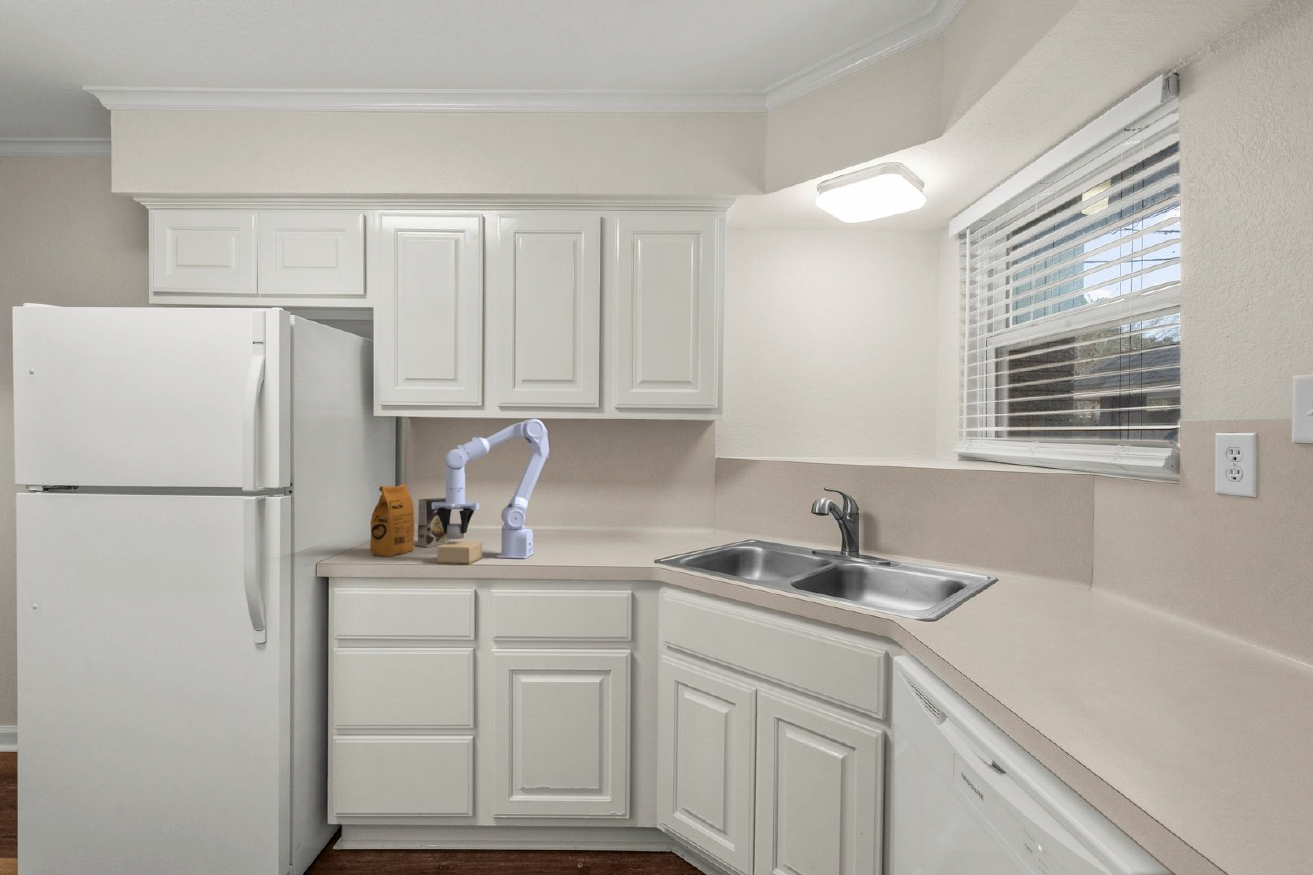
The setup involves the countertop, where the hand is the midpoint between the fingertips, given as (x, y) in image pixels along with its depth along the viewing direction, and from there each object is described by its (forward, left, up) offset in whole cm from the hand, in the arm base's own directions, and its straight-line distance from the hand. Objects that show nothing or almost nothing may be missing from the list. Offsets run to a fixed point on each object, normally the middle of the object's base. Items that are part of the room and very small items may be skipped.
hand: (455, 532), depth 184 cm
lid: (-2, +1, -4) cm, 5 cm away
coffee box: (+19, -23, -9) cm, 31 cm away
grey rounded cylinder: (0, 0, -2) cm, 2 cm away
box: (-2, +1, -8) cm, 9 cm away
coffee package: (+25, -7, -9) cm, 27 cm away
